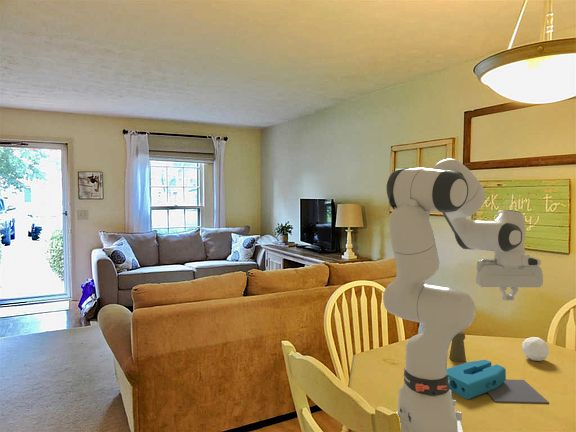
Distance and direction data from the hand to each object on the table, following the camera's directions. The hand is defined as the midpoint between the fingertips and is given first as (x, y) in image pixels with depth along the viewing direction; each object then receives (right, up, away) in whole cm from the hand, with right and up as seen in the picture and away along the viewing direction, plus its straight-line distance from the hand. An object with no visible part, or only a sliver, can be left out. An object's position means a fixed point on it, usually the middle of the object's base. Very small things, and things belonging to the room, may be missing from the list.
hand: (508, 300), depth 134 cm
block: (-2, -26, +5) cm, 26 cm away
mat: (-1, -29, -3) cm, 29 cm away
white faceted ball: (+23, -28, +23) cm, 43 cm away
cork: (-7, -28, +23) cm, 37 cm away
